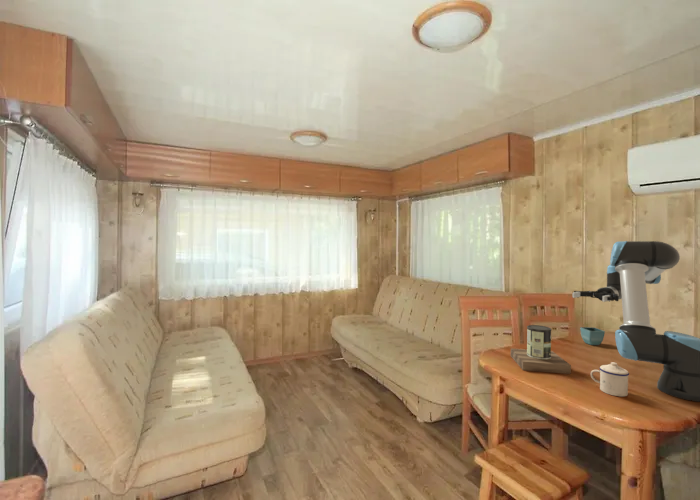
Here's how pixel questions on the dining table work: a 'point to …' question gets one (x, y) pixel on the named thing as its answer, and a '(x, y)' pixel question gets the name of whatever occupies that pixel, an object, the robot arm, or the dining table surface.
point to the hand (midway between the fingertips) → (587, 296)
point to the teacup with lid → (613, 379)
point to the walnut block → (540, 362)
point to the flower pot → (592, 335)
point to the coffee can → (539, 342)
